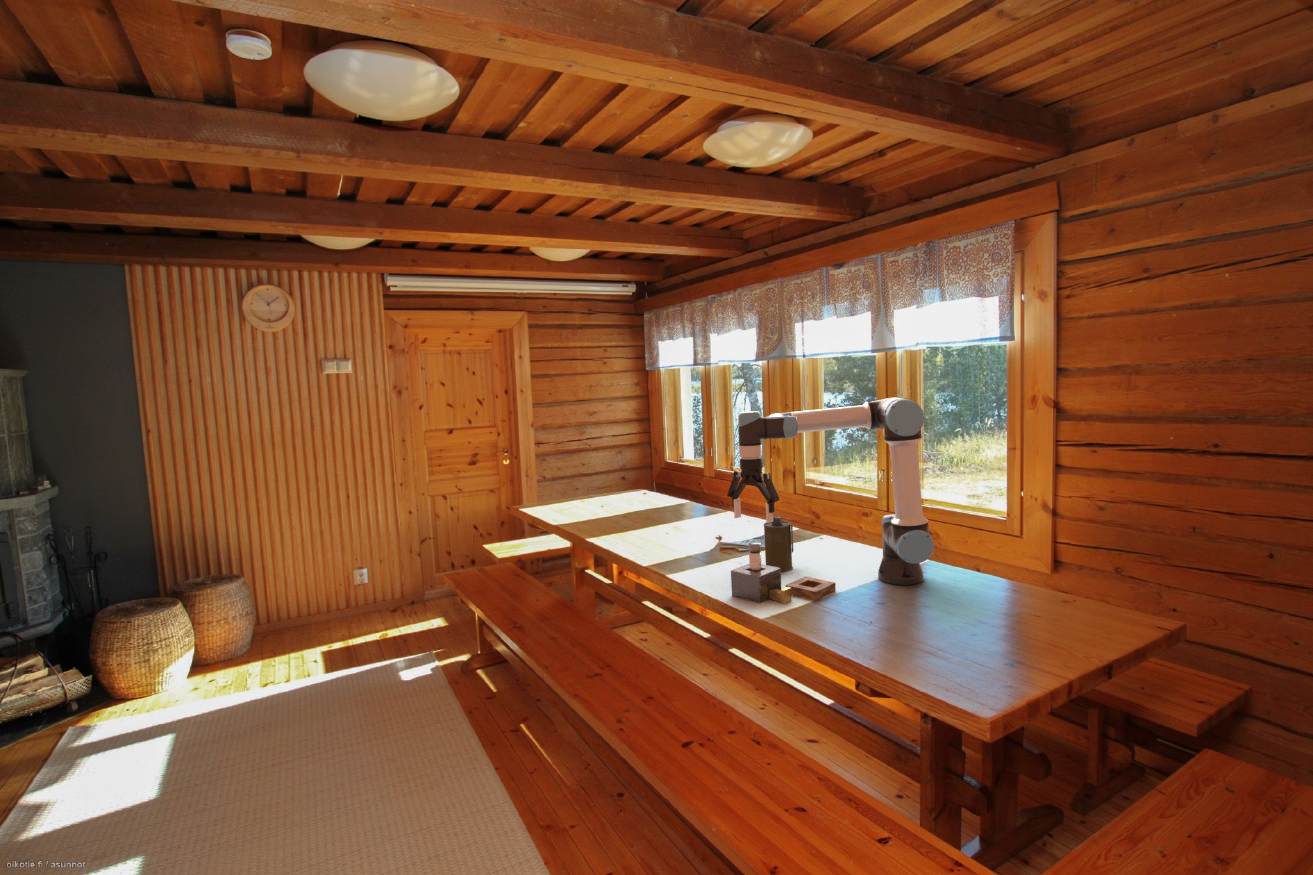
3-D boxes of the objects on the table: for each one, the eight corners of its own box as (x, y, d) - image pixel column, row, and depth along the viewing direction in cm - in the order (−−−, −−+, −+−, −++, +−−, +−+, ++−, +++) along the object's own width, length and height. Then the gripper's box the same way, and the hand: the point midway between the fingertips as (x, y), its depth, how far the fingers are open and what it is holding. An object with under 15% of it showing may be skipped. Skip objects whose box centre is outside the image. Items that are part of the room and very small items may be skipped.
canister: (761, 570, 260) (759, 519, 258) (770, 563, 269) (768, 513, 267) (789, 573, 254) (787, 520, 253) (797, 565, 264) (795, 515, 262)
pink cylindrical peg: (764, 583, 232) (762, 542, 231) (757, 586, 229) (755, 545, 228) (755, 581, 235) (753, 541, 233) (747, 583, 232) (746, 543, 231)
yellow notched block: (791, 600, 224) (791, 587, 224) (784, 604, 222) (784, 590, 221) (762, 593, 233) (761, 581, 233) (755, 596, 230) (754, 584, 230)
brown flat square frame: (835, 591, 232) (835, 582, 232) (816, 600, 224) (815, 591, 223) (805, 584, 240) (805, 576, 240) (785, 593, 232) (785, 585, 232)
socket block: (781, 593, 232) (780, 568, 231) (760, 603, 224) (759, 576, 223) (753, 587, 241) (752, 562, 240) (731, 596, 232) (730, 570, 232)
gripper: (788, 458, 221) (790, 522, 223) (729, 454, 239) (731, 513, 241) (774, 461, 216) (777, 526, 218) (715, 457, 234) (718, 517, 236)
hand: (753, 519), depth 230 cm, fingers open, 13 cm apart
